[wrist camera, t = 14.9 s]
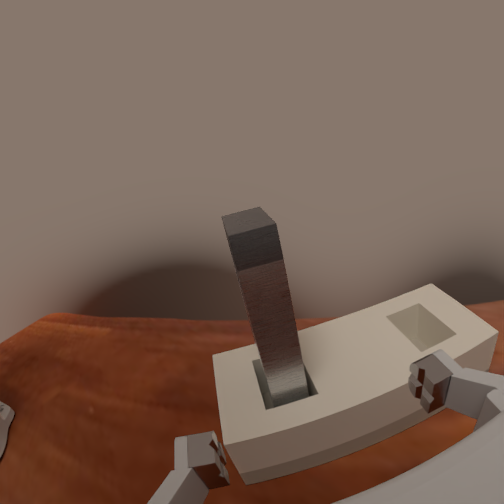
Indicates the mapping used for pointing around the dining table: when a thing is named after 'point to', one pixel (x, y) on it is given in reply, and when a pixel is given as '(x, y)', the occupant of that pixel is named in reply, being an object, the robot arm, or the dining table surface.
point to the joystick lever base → (344, 383)
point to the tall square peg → (267, 302)
